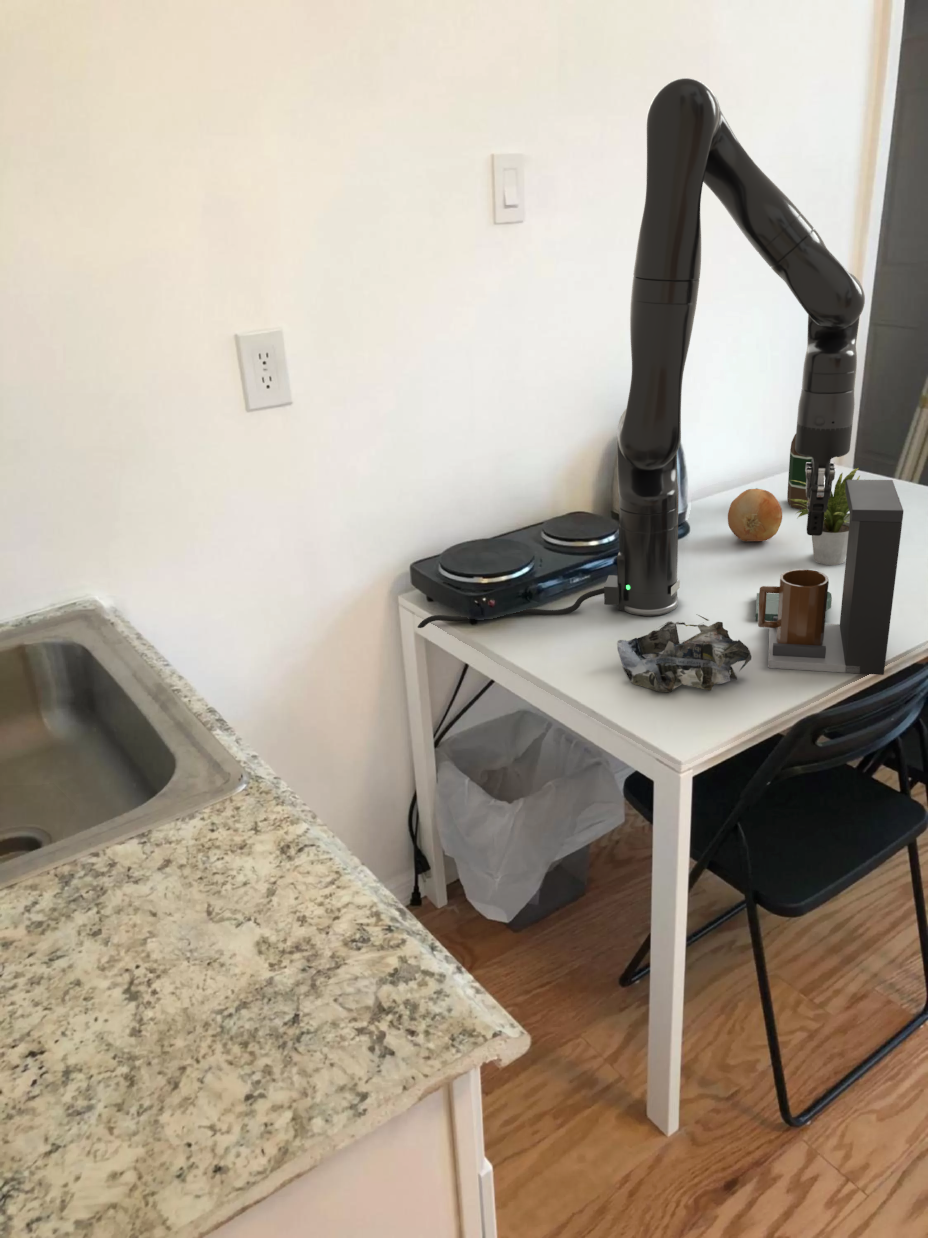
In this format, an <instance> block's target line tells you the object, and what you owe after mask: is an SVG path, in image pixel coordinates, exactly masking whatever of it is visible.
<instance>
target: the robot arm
mask: <svg viewBox="0 0 928 1238" xmlns="http://www.w3.org/2000/svg"><path fill="white" fill-rule="evenodd" d="M645 123H646V124H645V125H646V126H645V127H646V129H645V130H646V181H645V182H646V183H645V184H646V185H645V199H644V206H643V212H642V217H641V223H640V228H639V233H638V239H637V246H636V253H635V261H634V266H633V275H632V276H633V277H632V284H631V295H630V307H629V309H630V311H629V337H630V354H631V356H630V357H631V375H630V376H631V377H630V378H631V379H630V386H629V391H628V398H627V403H626V408H625V409H624V411H623V412H622V413H621V415H620V416H619V419H618V422H617V425H616V426H617V427H616V456H617V457H616V459H617V460H616V461H617V463H616V464H617V494H618V496H617V497H618V553H617V556H616V574H617V575H614V574H613V575H610V574H609V575H608V576H607V578H606V581H605V583H604V585H603V587H602V588H598V589H594V590H591V591H588V592H586V593H584V594H582V595H580V596H579V597H578V598H577V599H576V601H575V602H574V603H573V604H572V605H569V606H568V607H564V608H560V609H542V608H531V607H530V608H529V607H528V608H529V609H526V610H523V611H520V612H516V613H513V614H510V615H509V616H511V615H537V616H538V615H539V616H557V615H558V616H559V615H566V614H570V613H572V612H575V611H576V610H578V609H579V608H580V607H581V605H582V604H583V602H584V601H586V600H588V599H590V598H593V597H597V596H599V595H603V601H604V602H603V603H604V605H607V606H617V611H621V612H622V611H623V612H626V613H628V614H631V615H637V616H643V617H645V616H646V617H647V616H649V617H651V616H660V615H665V614H668V613H670V612H673V611H674V610H675V609H676V608H677V607H678V600H679V599H678V590H679V589H680V588H681V583H680V582H681V579H678V561H679V560H678V559H679V558H678V557H679V555H678V554H679V553H678V552H679V548H678V547H679V491H680V490H679V481H678V480H679V478H678V451H679V448H680V446H681V443H682V442H681V441H682V390H683V379H684V372H685V368H686V367H685V366H686V362H687V357H688V353H689V347H690V344H691V343H690V342H691V338H692V332H693V327H694V322H695V315H696V309H697V303H698V296H699V287H700V279H701V270H702V269H701V266H702V223H701V222H702V221H701V204H702V203H701V201H702V193H703V192H702V191H703V187H704V186H703V185H704V184H705V186H707V187H708V188H709V189H710V191H711V192H712V193H713V194H714V196H715V197H716V198H717V199H718V200H719V202H720V203H721V205H723V207H724V208H725V210H726V211H727V213H728V214H729V216H730V217H731V219H732V220H733V221H734V223H735V225H736V226H737V228H738V229H739V230H740V232H741V233H742V234H743V235H744V237H745V238H746V240H747V241H748V242H749V244H750V245H751V246H752V247H753V249H754V250H755V251H756V252H757V253H758V255H760V257H761V258H762V259H763V261H765V263H766V264H767V265H768V266H769V267H770V268H771V270H772V271H773V272H774V273H775V274H776V275H777V276H778V277H779V278H780V279H781V280H782V281H783V282H784V283H785V284H786V286H787V287H788V289H789V290H790V291H791V293H792V294H793V296H794V297H795V299H796V300H797V301H798V303H799V304H800V306H801V307H802V309H804V311H805V312H806V314H807V339H806V340H807V344H806V350H805V355H804V361H803V367H802V379H801V391H800V395H799V399H798V407H797V419H796V428H795V429H796V430H795V434H796V441H795V451H796V452H797V453H798V454H800V455H802V456H806V457H812V462H806V470H805V471H806V497H807V498H808V502H807V509H808V514H807V518H806V519H807V521H806V534H807V535H808V536H812V535H813V536H820V535H821V534H822V531H823V521H824V512H826V511H827V509H828V506H827V505H828V499H829V498H830V497H831V491H832V489H833V482H834V480H835V476H836V467H835V462H831V461H832V459H834V458H840V457H844V456H846V455H847V454H849V453H850V450H851V444H852V443H851V442H852V433H853V425H854V424H853V423H854V414H855V405H856V403H855V388H856V387H855V386H856V377H857V370H858V369H857V368H858V353H857V341H858V340H857V339H858V334H859V333H858V331H859V324H860V317H861V315H862V313H863V311H864V308H865V304H866V295H865V291H864V288H863V286H862V283H861V282H860V280H859V279H858V278H857V277H856V276H855V275H854V274H852V273H850V272H849V271H848V270H847V269H846V268H845V266H844V265H843V264H842V263H841V262H840V261H839V260H838V259H837V258H836V257H835V256H834V254H833V253H832V252H830V250H829V249H828V248H827V246H826V244H825V242H824V240H823V238H822V237H821V235H820V233H819V232H818V231H817V230H816V229H815V228H814V226H813V225H812V224H811V223H810V222H809V220H808V219H807V218H806V216H804V214H803V213H802V212H801V211H800V209H799V208H798V207H797V206H796V205H795V204H794V203H793V202H792V201H791V199H789V197H788V196H787V195H786V194H785V193H784V192H783V191H782V190H781V189H780V188H779V187H778V186H777V184H775V182H773V181H772V180H771V179H770V177H768V176H767V175H766V173H765V172H764V171H763V170H762V169H761V167H759V166H758V165H757V164H756V162H755V161H754V160H753V159H752V158H751V156H750V155H749V154H748V152H747V151H746V149H745V148H744V147H743V146H742V144H741V142H740V141H739V140H738V138H737V136H736V135H735V134H734V133H735V132H734V131H733V130H732V128H731V126H730V124H729V123H728V121H727V119H726V117H725V116H724V114H723V112H722V110H721V106H720V103H719V99H718V97H717V96H716V95H715V93H714V91H712V90H711V88H710V87H709V86H707V85H706V84H705V83H703V82H702V81H700V80H698V79H695V78H692V77H679V78H676V79H673V80H671V81H670V82H667V83H666V84H664V86H663V87H661V89H659V91H658V92H657V93H656V94H655V95H654V97H653V99H652V100H651V103H650V104H649V108H648V110H647V113H646V122H645ZM461 616H462V615H447V614H434V615H431V616H428V617H425V619H423V620H422V621H421V622H420V623H419V624H418V625H417V628H418V629H423V628H425V627H426V626H427V625H428V624H430V623H432V622H433V623H434V622H439V621H443V622H465V621H466V622H467V621H471V620H470V619H468V618H467V617H461Z"/></svg>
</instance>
